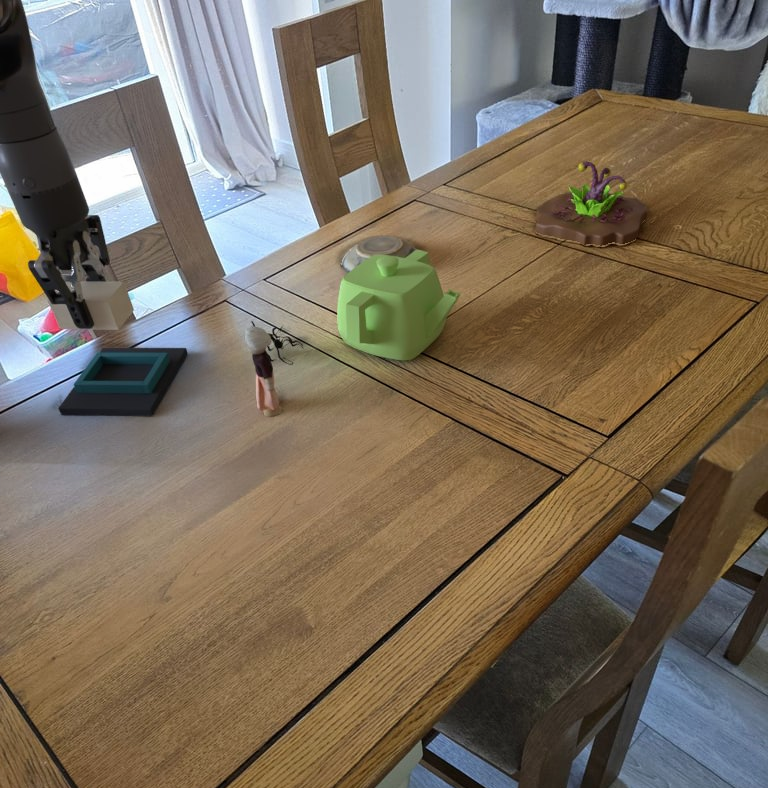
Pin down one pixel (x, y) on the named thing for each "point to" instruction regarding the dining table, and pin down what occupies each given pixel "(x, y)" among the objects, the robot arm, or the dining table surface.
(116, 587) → the dining table surface
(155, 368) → the pad
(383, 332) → the teapot
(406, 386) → the dining table surface
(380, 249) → the decorative bowl
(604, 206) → the plant
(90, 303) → the cream pad
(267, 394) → the grandmother figurine
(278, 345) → the creature
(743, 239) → the dining table surface
